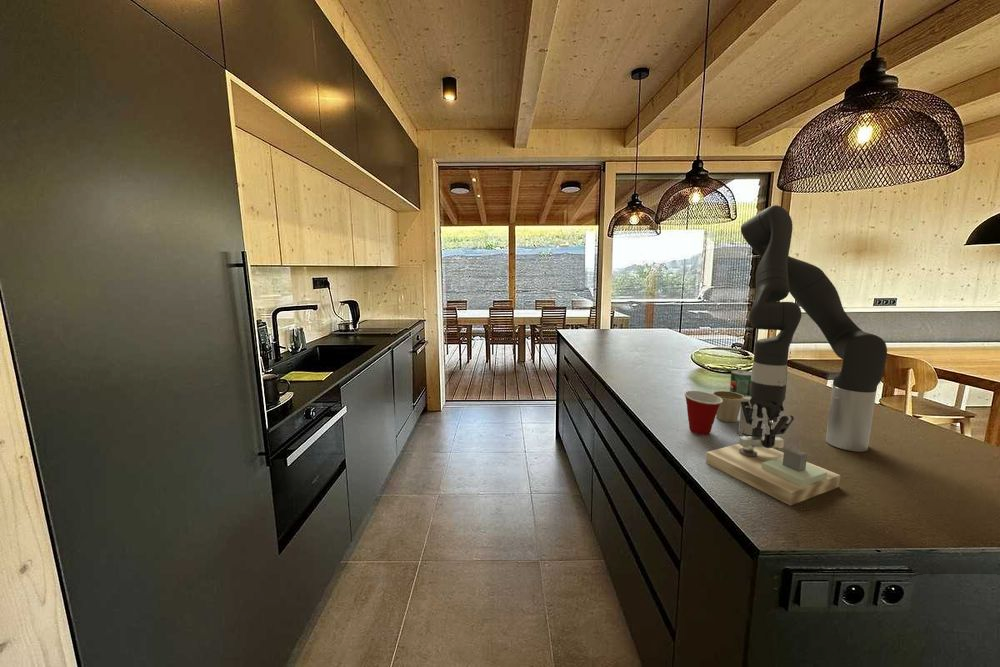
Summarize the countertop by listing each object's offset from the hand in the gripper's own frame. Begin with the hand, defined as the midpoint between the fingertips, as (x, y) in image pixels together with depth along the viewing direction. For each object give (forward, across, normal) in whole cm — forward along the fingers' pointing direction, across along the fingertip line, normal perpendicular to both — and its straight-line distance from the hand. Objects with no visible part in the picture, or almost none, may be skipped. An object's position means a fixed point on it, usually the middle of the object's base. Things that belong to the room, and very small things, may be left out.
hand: (762, 444), depth 101 cm
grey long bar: (+2, 0, 0) cm, 2 cm away
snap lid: (+3, +10, -1) cm, 10 cm away
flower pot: (+5, -29, +16) cm, 34 cm away
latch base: (+6, +4, -2) cm, 8 cm away
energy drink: (+6, -16, +12) cm, 21 cm away
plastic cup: (+6, -22, 0) cm, 23 cm away
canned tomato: (+5, -45, +38) cm, 59 cm away
